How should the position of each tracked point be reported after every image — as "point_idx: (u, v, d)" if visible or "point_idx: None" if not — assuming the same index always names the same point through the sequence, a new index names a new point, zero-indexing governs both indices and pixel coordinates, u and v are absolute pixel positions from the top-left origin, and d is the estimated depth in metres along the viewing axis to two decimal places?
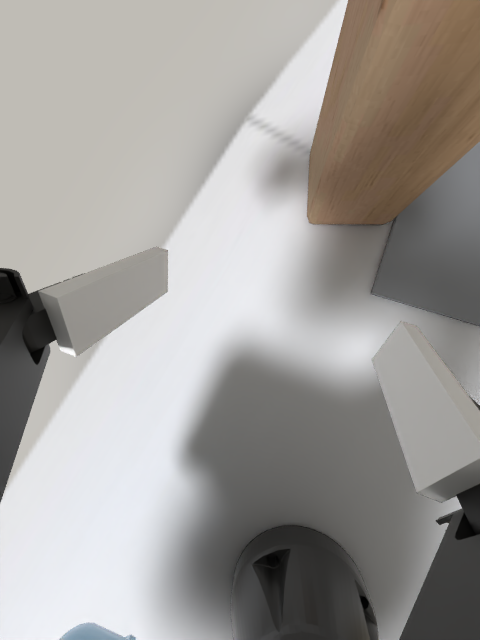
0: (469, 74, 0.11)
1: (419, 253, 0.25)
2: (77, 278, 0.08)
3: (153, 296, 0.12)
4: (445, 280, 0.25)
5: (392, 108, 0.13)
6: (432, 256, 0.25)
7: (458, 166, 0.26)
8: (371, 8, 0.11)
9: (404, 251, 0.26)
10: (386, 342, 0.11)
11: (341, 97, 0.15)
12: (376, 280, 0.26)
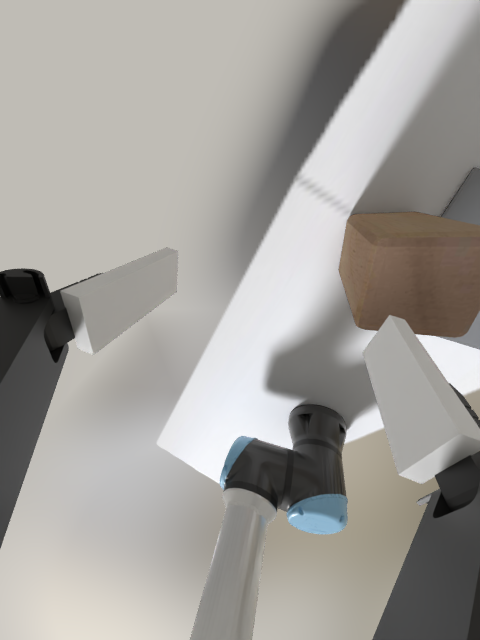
0: None
1: None
2: (95, 278, 0.08)
3: (163, 296, 0.13)
4: None
5: None
6: None
7: None
8: (354, 300, 0.25)
9: None
10: (375, 335, 0.12)
11: (349, 285, 0.28)
12: None
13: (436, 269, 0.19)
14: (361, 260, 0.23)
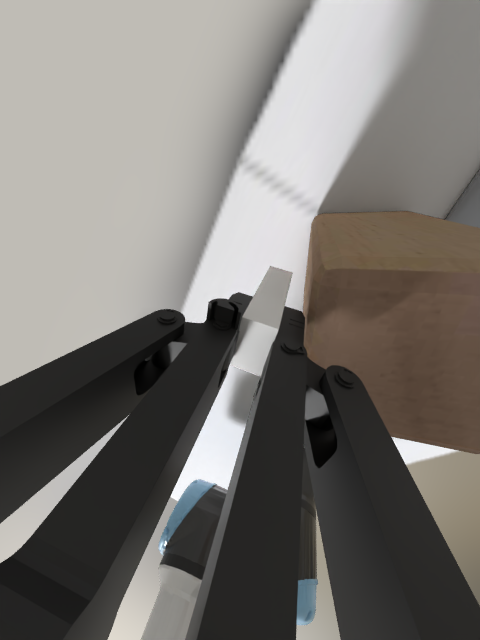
0: None
1: None
2: (253, 302, 0.09)
3: None
4: None
5: None
6: None
7: None
8: None
9: None
10: None
11: None
12: None
13: (445, 340, 0.08)
14: None
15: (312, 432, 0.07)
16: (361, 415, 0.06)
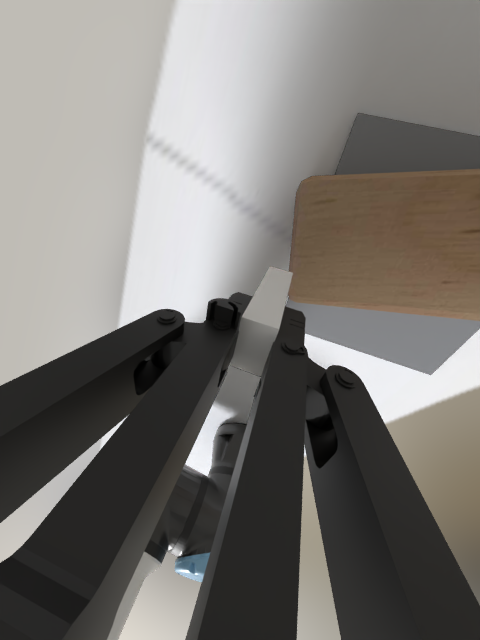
0: None
1: None
2: (253, 302, 0.09)
3: None
4: (336, 319, 0.30)
5: None
6: None
7: None
8: None
9: None
10: None
11: (474, 291, 0.15)
12: None
13: None
14: None
15: (313, 433, 0.07)
16: (361, 415, 0.06)
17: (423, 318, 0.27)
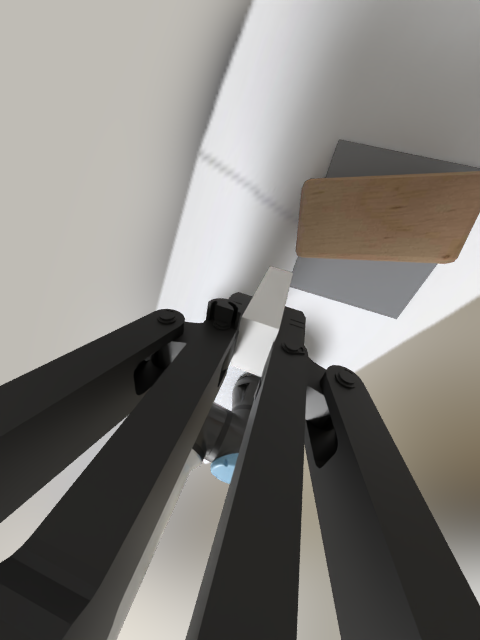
0: None
1: (315, 263, 0.41)
2: (253, 302, 0.09)
3: None
4: (329, 279, 0.42)
5: None
6: (323, 264, 0.41)
7: None
8: (440, 244, 0.26)
9: (307, 261, 0.41)
10: None
11: (401, 242, 0.27)
12: None
13: None
14: (447, 205, 0.24)
15: (313, 433, 0.07)
16: (362, 415, 0.06)
17: (388, 275, 0.39)
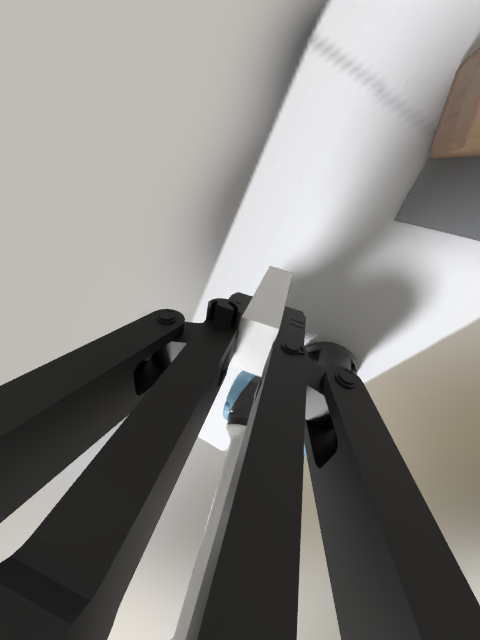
0: None
1: (442, 184, 0.34)
2: (253, 302, 0.09)
3: None
4: (455, 206, 0.35)
5: None
6: (452, 186, 0.34)
7: None
8: None
9: (430, 183, 0.34)
10: None
11: None
12: (401, 209, 0.37)
13: None
14: None
15: (313, 433, 0.07)
16: (362, 415, 0.06)
17: None
